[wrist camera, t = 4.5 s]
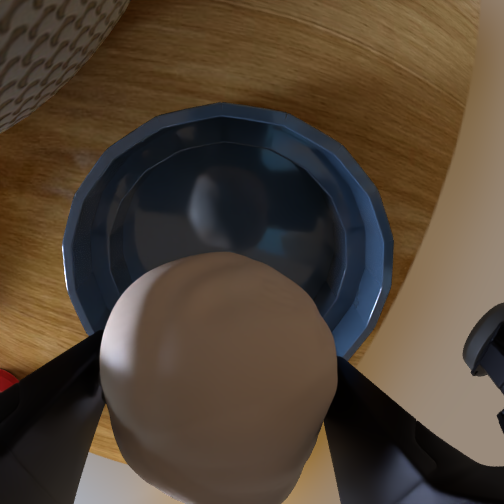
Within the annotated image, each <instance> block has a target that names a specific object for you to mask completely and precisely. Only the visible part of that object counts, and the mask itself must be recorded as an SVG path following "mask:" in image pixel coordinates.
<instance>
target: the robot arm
mask: <svg viewBox="0 0 504 504" xmlns="http://www.w3.org/2000/svg"><path fill="white" fill-rule="evenodd" d="M103 333H104V330H99V331H97V332H95V333H94V334H92V335H91V336H89V337H87V338H86V339H84V340H83V341H81V342H80V343H78V344H76V345H75V346H73V347H72V348H70V349H68V350H67V351H65V352H64V353H62V354H61V355H59V356H57V357H56V358H54V359H53V360H51V361H50V362H48V363H46V364H45V365H43V366H42V367H40V368H39V369H37V370H36V371H34V372H32V373H31V374H29V375H28V376H26V377H25V378H23V379H22V380H20V381H19V383H18V382H17V383H15V384H14V385H12V386H11V387H9V388H7V389H6V390H4V391H3V392H1V393H0V504H74V500H75V496H76V492H77V489H78V485H79V482H80V478H81V475H82V472H83V468H84V465H85V462H86V458H87V455H88V452H89V449H90V446H91V443H92V440H93V437H94V434H95V431H96V428H97V425H98V422H99V419H100V417H101V414H102V411H103V408H104V405H105V403H104V402H103V400H102V393H103V389H102V387H101V386H100V385H99V382H98V373H99V371H100V348H101V342H102V337H103ZM471 374H472V375H473V376H477V375H482V374H488V376H490V378H491V379H492V381H493V382H494V383H495V385H496V386H497V387H498V388H499V389H500V390H501V392H502V393H503V394H504V321H501V322H500V323H499V324H498V326H497V328H496V330H495V331H494V333H493V335H492V337H491V339H490V341H489V342H488V344H487V346H486V348H485V349H484V351H483V353H482V354H481V356H480V358H479V359H478V361H477V363H476V364H475V366H474V367H473V369H472V371H471ZM337 377H338V381H337V389H336V393H335V396H334V398H333V400H332V402H331V404H330V407H329V409H328V411H327V414H326V416H325V418H324V426H325V431H326V435H327V440H328V444H329V449H330V453H331V458H332V463H333V467H334V472H335V477H336V482H337V487H338V491H339V496H340V501H341V504H504V466H503V467H492V466H486V465H482V464H479V463H477V462H475V461H474V460H472V459H470V458H469V457H467V456H466V455H464V454H463V453H461V452H460V451H458V450H457V449H455V448H453V447H452V446H451V445H449V444H448V443H446V442H445V441H443V440H442V439H440V438H439V437H438V436H436V435H435V434H434V433H432V432H431V431H430V430H429V429H427V428H426V427H425V426H423V425H422V424H421V423H420V422H419V421H416V419H415V418H414V417H413V416H411V415H410V414H409V413H408V412H407V411H405V410H404V409H403V408H402V407H401V406H399V405H398V404H397V403H396V402H395V401H393V400H392V399H391V398H390V397H389V396H388V395H386V394H385V393H384V392H383V391H382V390H380V389H379V388H378V387H377V386H376V385H374V384H373V383H372V382H371V381H370V380H369V379H367V378H366V377H365V376H364V375H363V374H361V373H360V372H359V371H358V370H357V369H356V368H355V367H353V366H352V365H351V364H350V363H349V362H348V361H346V360H345V359H344V358H343V357H341V356H337ZM497 418H498V420H499V424H500V426H501V429H502V431H503V433H504V409H503V410H502V411H501V412H499V414H497Z"/></svg>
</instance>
